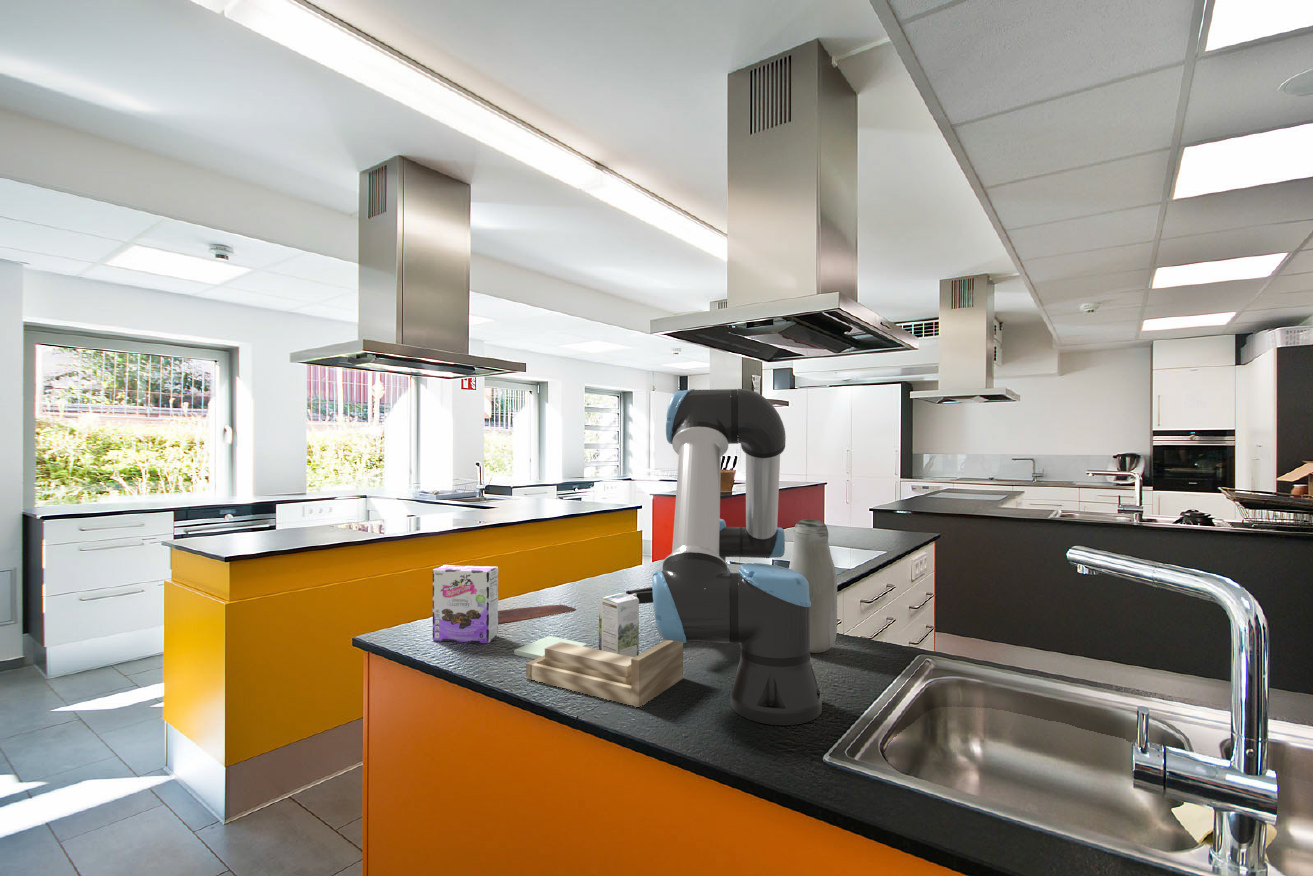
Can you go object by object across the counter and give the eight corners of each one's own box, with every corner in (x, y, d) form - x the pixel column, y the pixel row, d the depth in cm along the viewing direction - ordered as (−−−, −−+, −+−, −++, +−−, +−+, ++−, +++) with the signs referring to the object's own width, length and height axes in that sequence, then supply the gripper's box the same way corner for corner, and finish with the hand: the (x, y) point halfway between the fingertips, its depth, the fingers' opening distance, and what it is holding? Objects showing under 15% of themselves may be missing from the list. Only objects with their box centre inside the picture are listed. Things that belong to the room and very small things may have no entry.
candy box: (431, 641, 140) (431, 568, 141) (444, 633, 146) (444, 563, 146) (488, 644, 138) (488, 570, 138) (499, 636, 144) (499, 565, 144)
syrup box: (619, 663, 125) (619, 591, 125) (639, 670, 121) (639, 596, 121) (598, 671, 121) (597, 596, 121) (618, 678, 117) (617, 602, 117)
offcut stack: (643, 692, 111) (643, 659, 111) (629, 701, 107) (629, 667, 107) (558, 672, 121) (558, 641, 122) (543, 679, 118) (543, 648, 118)
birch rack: (683, 678, 117) (682, 635, 117) (638, 708, 104) (638, 660, 104) (577, 655, 130) (577, 617, 131) (526, 679, 117) (525, 637, 117)
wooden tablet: (565, 600, 173) (579, 603, 165) (565, 608, 173) (579, 612, 165) (469, 614, 160) (479, 619, 151) (469, 623, 160) (479, 628, 151)
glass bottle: (843, 648, 134) (841, 518, 134) (827, 662, 125) (825, 523, 125) (799, 640, 139) (798, 515, 139) (781, 653, 131) (780, 520, 131)
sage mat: (587, 648, 135) (587, 643, 135) (554, 663, 125) (554, 659, 125) (548, 640, 140) (548, 636, 140) (514, 654, 131) (514, 649, 131)
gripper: (741, 612, 141) (698, 638, 123) (648, 598, 154) (597, 620, 136) (740, 579, 141) (698, 600, 123) (648, 568, 154) (597, 586, 136)
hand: (645, 610), depth 130 cm, fingers open, 13 cm apart
